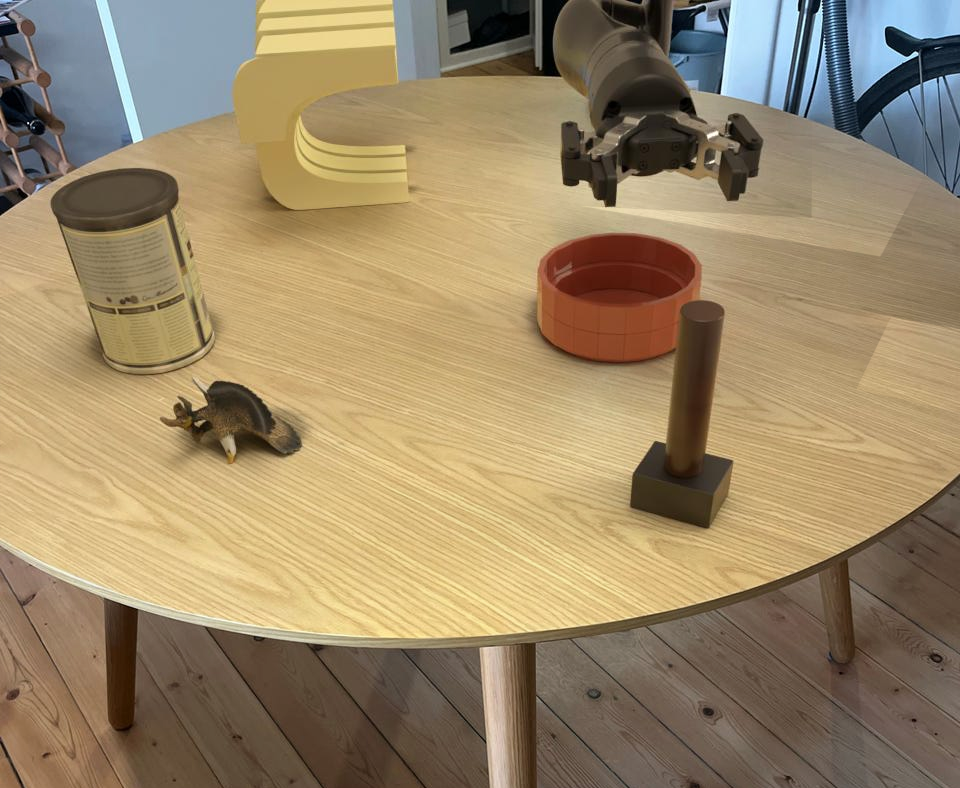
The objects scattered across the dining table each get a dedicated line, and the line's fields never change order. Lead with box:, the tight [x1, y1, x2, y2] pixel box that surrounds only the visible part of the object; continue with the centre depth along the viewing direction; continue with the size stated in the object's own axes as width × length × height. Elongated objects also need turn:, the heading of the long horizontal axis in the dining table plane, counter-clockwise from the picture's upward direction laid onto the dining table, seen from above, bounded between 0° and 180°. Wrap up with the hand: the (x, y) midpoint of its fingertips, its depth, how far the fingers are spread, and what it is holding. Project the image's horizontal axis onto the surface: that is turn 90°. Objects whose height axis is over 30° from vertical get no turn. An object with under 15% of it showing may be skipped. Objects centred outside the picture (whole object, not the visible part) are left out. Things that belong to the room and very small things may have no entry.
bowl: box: [536, 232, 703, 363], centre depth 91 cm, size 14×14×6 cm
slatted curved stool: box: [231, 0, 410, 211], centre depth 113 cm, size 30×16×18 cm, turn 4°
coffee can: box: [49, 167, 216, 375], centre depth 89 cm, size 10×10×14 cm
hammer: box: [629, 299, 734, 529], centre depth 70 cm, size 6×4×15 cm
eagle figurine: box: [159, 376, 303, 464], centre depth 80 cm, size 8×7×9 cm
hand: (674, 190), depth 70 cm, fingers open, 8 cm apart
